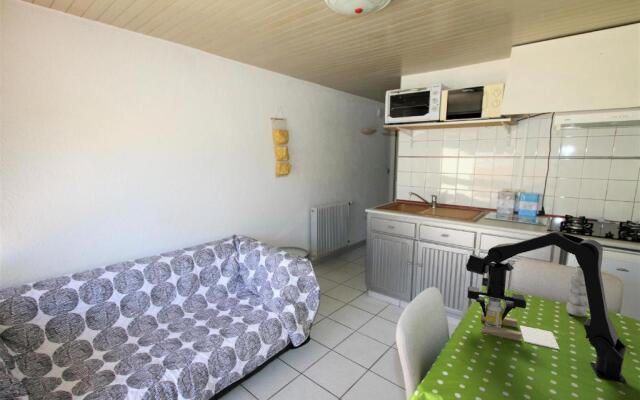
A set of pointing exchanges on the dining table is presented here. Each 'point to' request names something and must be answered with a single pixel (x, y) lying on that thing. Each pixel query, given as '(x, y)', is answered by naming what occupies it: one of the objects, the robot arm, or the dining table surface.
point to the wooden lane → (501, 331)
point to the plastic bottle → (577, 294)
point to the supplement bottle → (494, 313)
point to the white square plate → (538, 337)
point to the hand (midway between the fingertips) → (493, 318)
